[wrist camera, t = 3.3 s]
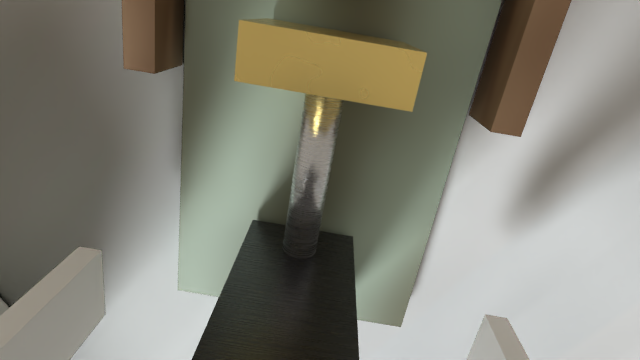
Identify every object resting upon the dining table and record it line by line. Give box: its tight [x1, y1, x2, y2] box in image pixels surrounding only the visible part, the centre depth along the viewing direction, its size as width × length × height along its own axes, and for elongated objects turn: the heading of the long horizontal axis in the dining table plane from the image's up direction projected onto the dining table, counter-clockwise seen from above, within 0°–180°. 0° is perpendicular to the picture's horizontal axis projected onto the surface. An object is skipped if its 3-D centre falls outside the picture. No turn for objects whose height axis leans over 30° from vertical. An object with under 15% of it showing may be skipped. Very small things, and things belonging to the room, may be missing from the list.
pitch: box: [122, 0, 571, 327], centre depth 13 cm, size 13×21×3 cm, turn 171°
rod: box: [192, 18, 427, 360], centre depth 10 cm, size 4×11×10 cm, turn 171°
